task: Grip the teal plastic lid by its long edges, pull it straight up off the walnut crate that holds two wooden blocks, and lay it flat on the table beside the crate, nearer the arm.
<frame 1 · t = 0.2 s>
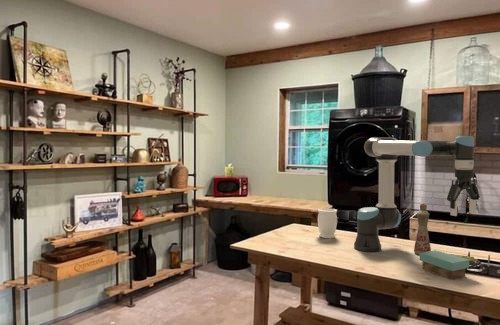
hand: (463, 214, 169), 27 cm above the table, tool pointing down, fingers open, 13 cm apart
block a: (437, 270, 169), point 1 cm above the table, touching crate
crate: (443, 274, 166), on the table
block b: (449, 274, 164), point 1 cm above the table, touching crate
lid: (443, 263, 166), point 5 cm above the table, touching crate
bottle: (422, 254, 199), on the table
jar: (327, 236, 238), on the table
carton: (456, 264, 182), on the table
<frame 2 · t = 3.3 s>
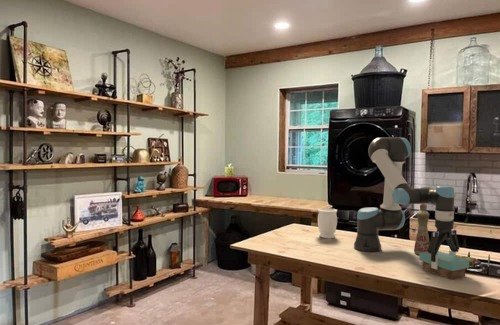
hand: (443, 266, 166), 4 cm above the table, tool pointing down, fingers closed on lid, 11 cm apart
lid: (443, 263, 166), point 5 cm above the table, touching crate, gripper
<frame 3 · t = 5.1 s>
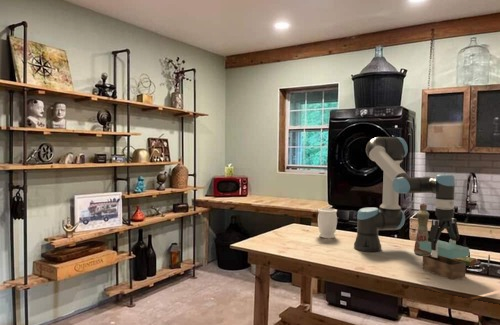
hand: (443, 255, 166), 9 cm above the table, tool pointing down, fingers closed on lid, 11 cm apart
lid: (443, 252, 166), point 10 cm above the table, touching gripper
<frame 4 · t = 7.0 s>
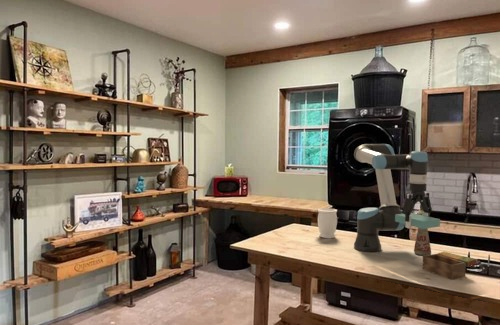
hand: (416, 226, 179), 19 cm above the table, tool pointing down, fingers closed on lid, 11 cm apart
lid: (416, 223, 179), point 21 cm above the table, touching gripper
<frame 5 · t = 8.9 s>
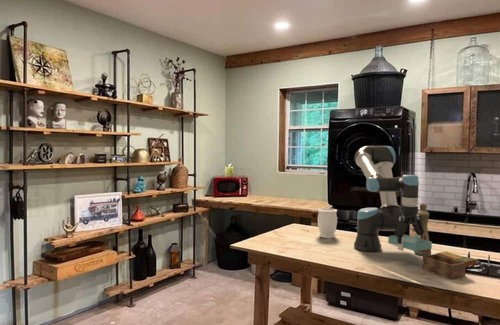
hand: (409, 248, 182), 7 cm above the table, tool pointing down, fingers closed on lid, 11 cm apart
lid: (409, 245, 182), point 9 cm above the table, touching gripper
when the fingers open (1 cm above the table, at t = 10.8 s): lid drops 3 cm, on the table.
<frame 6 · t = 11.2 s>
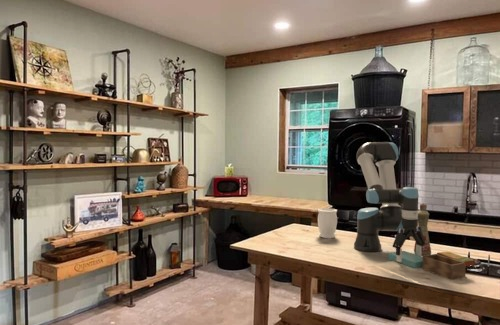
hand: (408, 259, 183), 2 cm above the table, tool pointing down, fingers open, 13 cm apart
lid: (408, 263, 183), on the table
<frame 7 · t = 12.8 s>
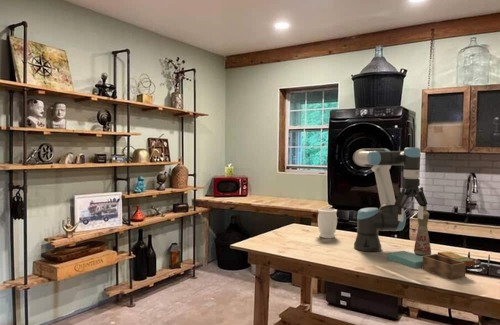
hand: (410, 220, 182), 22 cm above the table, tool pointing down, fingers open, 13 cm apart
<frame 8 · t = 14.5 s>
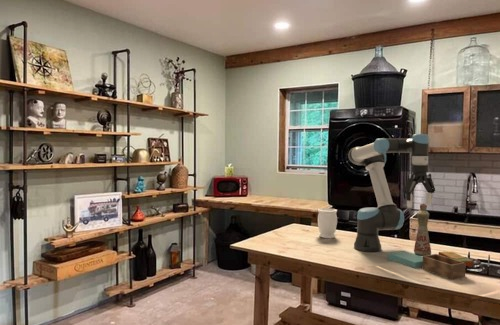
hand: (419, 206, 184), 29 cm above the table, tool pointing down, fingers open, 13 cm apart
at the end: lid inside the target area (0.0 cm from its centre), on the table; lid tilted 0°; lid touching table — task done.
